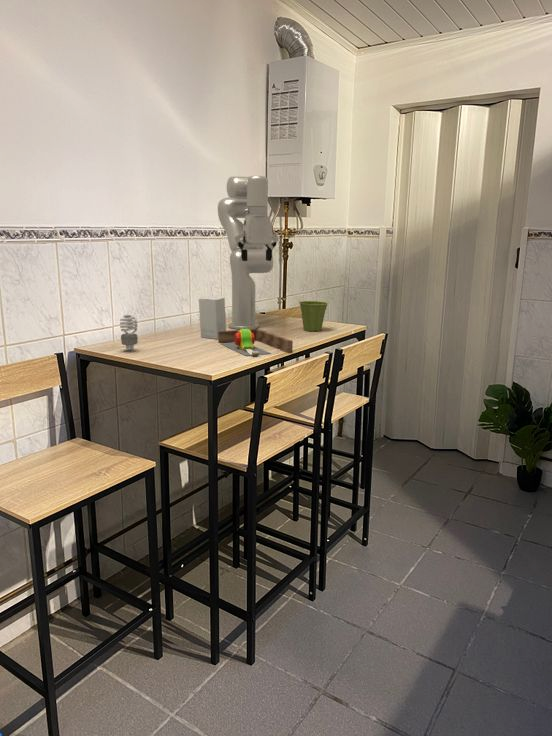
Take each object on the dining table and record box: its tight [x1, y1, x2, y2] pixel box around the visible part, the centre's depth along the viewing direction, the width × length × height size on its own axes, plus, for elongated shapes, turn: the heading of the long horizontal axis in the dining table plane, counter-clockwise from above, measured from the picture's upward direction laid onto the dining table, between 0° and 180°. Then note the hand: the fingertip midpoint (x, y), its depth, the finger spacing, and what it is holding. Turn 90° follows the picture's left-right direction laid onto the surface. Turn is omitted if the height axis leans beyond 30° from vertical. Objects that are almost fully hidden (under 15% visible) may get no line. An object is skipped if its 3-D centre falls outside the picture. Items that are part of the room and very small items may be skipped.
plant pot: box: [298, 300, 329, 332], centre depth 233 cm, size 12×12×11 cm
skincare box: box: [198, 296, 227, 340], centre depth 214 cm, size 8×6×15 cm
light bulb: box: [119, 314, 139, 352], centre depth 188 cm, size 6×6×12 cm
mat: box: [220, 342, 272, 357], centre depth 196 cm, size 21×9×1 cm, turn 28°
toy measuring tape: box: [233, 329, 260, 357], centre depth 192 cm, size 6×19×7 cm, turn 19°
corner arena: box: [217, 328, 294, 354], centre depth 198 cm, size 26×16×4 cm, turn 28°
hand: (256, 260), depth 211 cm, fingers open, 9 cm apart
